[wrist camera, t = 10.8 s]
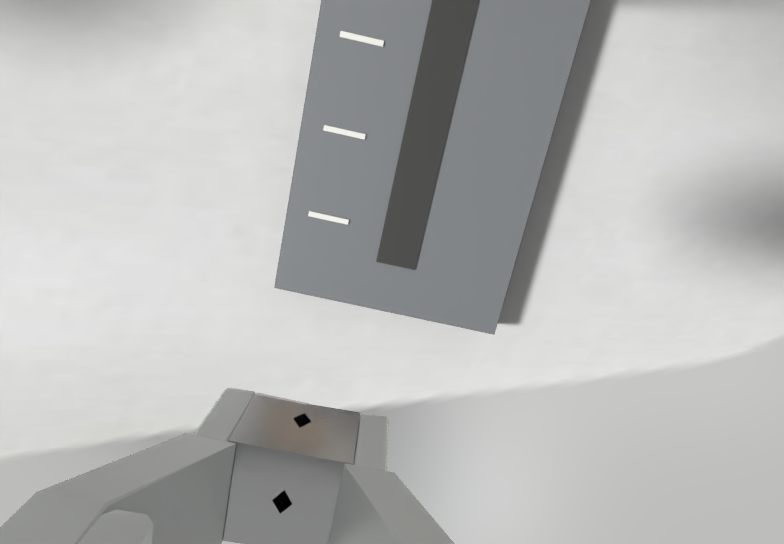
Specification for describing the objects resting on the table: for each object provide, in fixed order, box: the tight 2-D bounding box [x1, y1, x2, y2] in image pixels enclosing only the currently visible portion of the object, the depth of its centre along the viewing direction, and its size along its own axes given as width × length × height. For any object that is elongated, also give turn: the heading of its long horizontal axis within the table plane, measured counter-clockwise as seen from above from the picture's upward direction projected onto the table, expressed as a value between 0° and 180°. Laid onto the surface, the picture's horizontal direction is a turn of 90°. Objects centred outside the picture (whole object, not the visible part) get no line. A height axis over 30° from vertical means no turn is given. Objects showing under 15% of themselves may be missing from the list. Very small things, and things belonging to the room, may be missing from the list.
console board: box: [274, 0, 590, 334], centre depth 28 cm, size 30×14×2 cm, turn 168°
